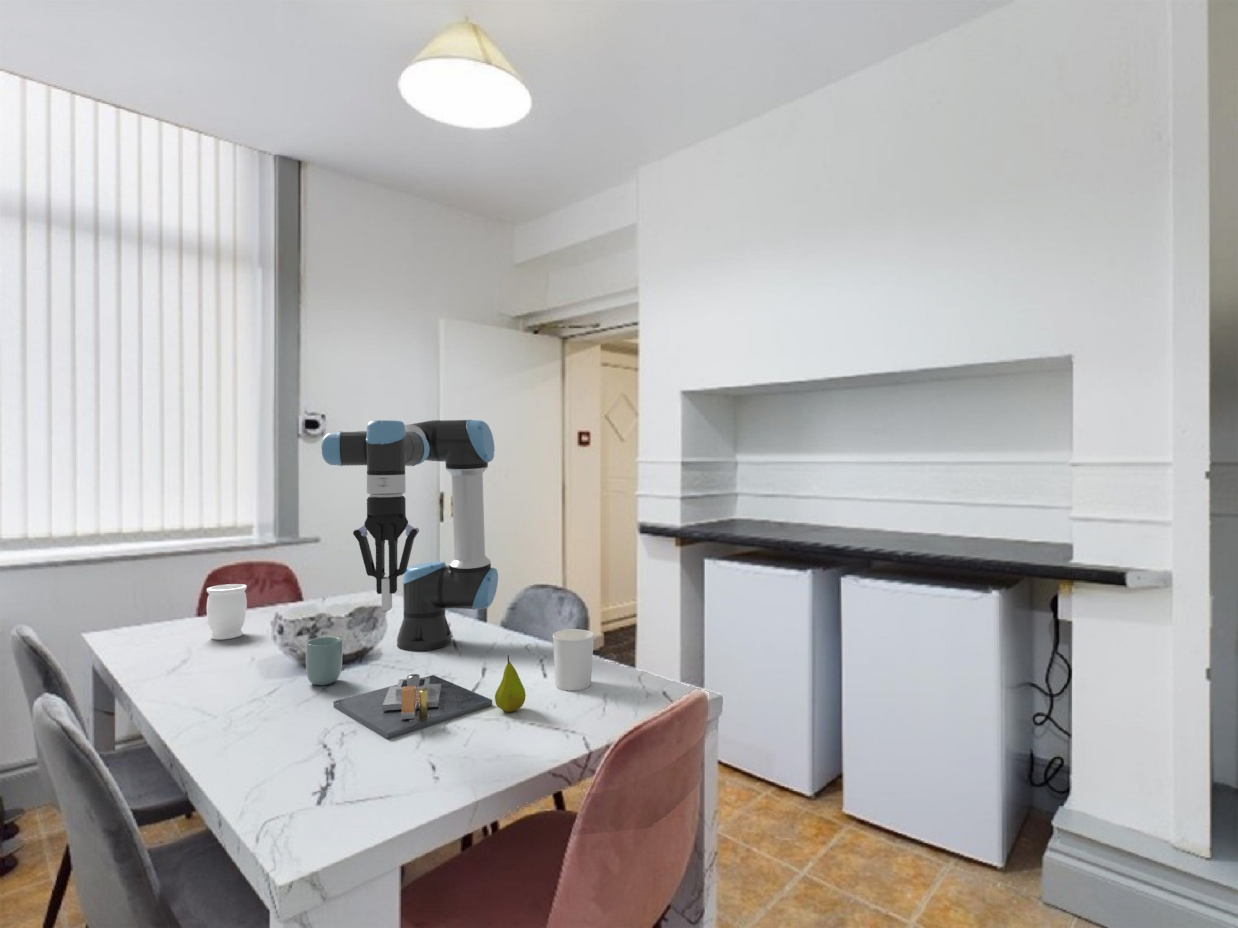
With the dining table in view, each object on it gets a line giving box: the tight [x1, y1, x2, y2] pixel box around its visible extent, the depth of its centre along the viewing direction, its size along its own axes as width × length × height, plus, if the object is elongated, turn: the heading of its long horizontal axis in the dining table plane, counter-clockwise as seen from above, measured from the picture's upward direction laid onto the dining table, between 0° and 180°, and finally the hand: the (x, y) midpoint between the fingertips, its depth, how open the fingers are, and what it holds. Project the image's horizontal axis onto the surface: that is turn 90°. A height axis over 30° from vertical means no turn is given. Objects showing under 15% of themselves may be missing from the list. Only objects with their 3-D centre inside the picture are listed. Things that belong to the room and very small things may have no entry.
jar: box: [206, 583, 248, 641], centre depth 196 cm, size 11×10×15 cm
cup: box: [305, 636, 343, 686], centre depth 155 cm, size 8×8×10 cm
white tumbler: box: [552, 628, 595, 692], centre depth 154 cm, size 10×10×12 cm
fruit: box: [494, 655, 526, 713], centre depth 138 cm, size 6×6×12 cm
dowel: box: [419, 690, 427, 717], centre depth 132 cm, size 2×2×5 cm
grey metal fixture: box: [383, 676, 441, 719], centre depth 138 cm, size 16×11×6 cm, turn 12°
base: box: [333, 673, 493, 740], centre depth 141 cm, size 24×24×6 cm
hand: (387, 609), depth 135 cm, fingers closed
